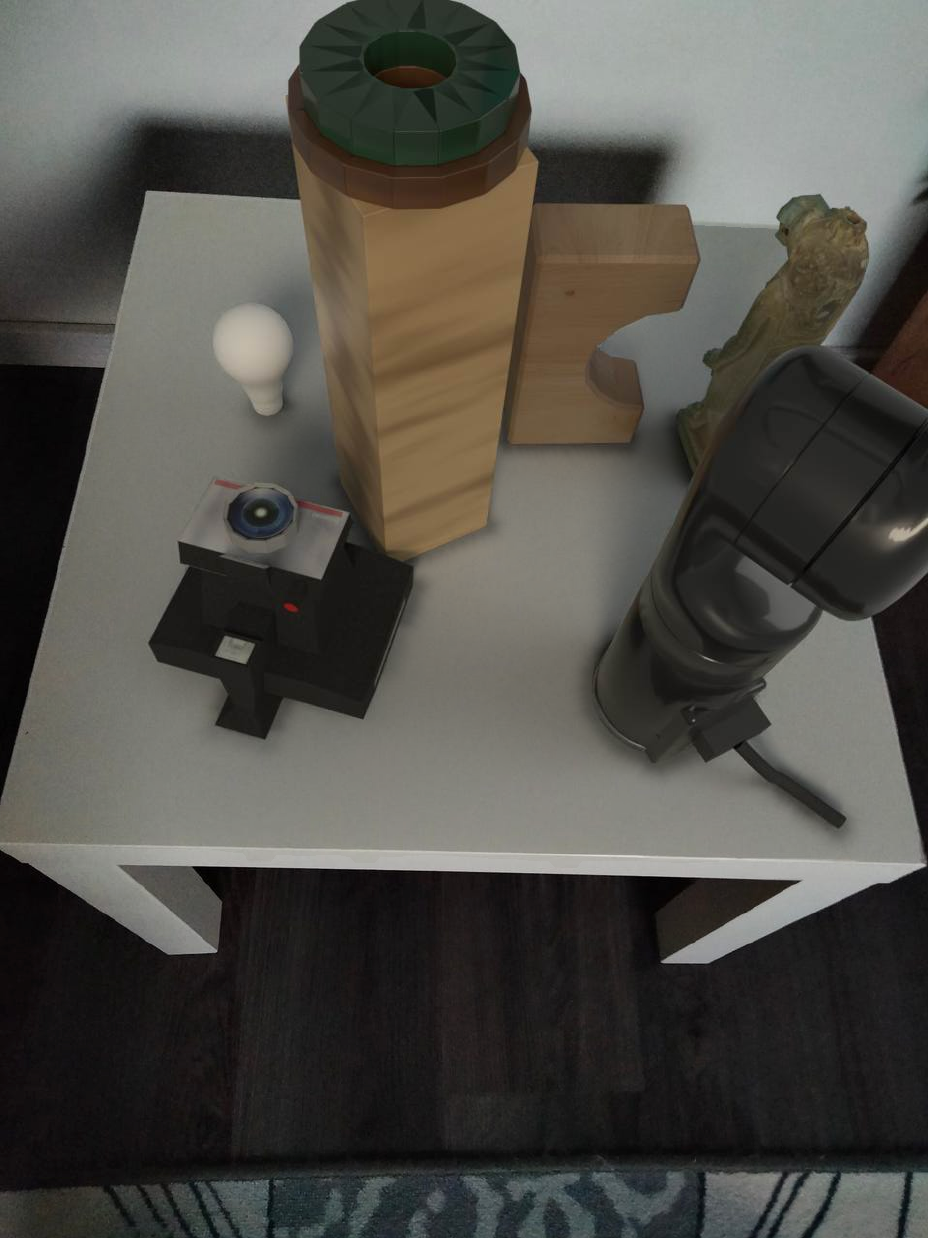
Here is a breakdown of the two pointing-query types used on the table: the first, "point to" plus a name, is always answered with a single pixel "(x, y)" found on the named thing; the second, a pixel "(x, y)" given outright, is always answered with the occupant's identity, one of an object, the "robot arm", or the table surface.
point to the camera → (280, 605)
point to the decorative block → (591, 315)
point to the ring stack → (414, 252)
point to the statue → (784, 308)
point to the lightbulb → (255, 352)
